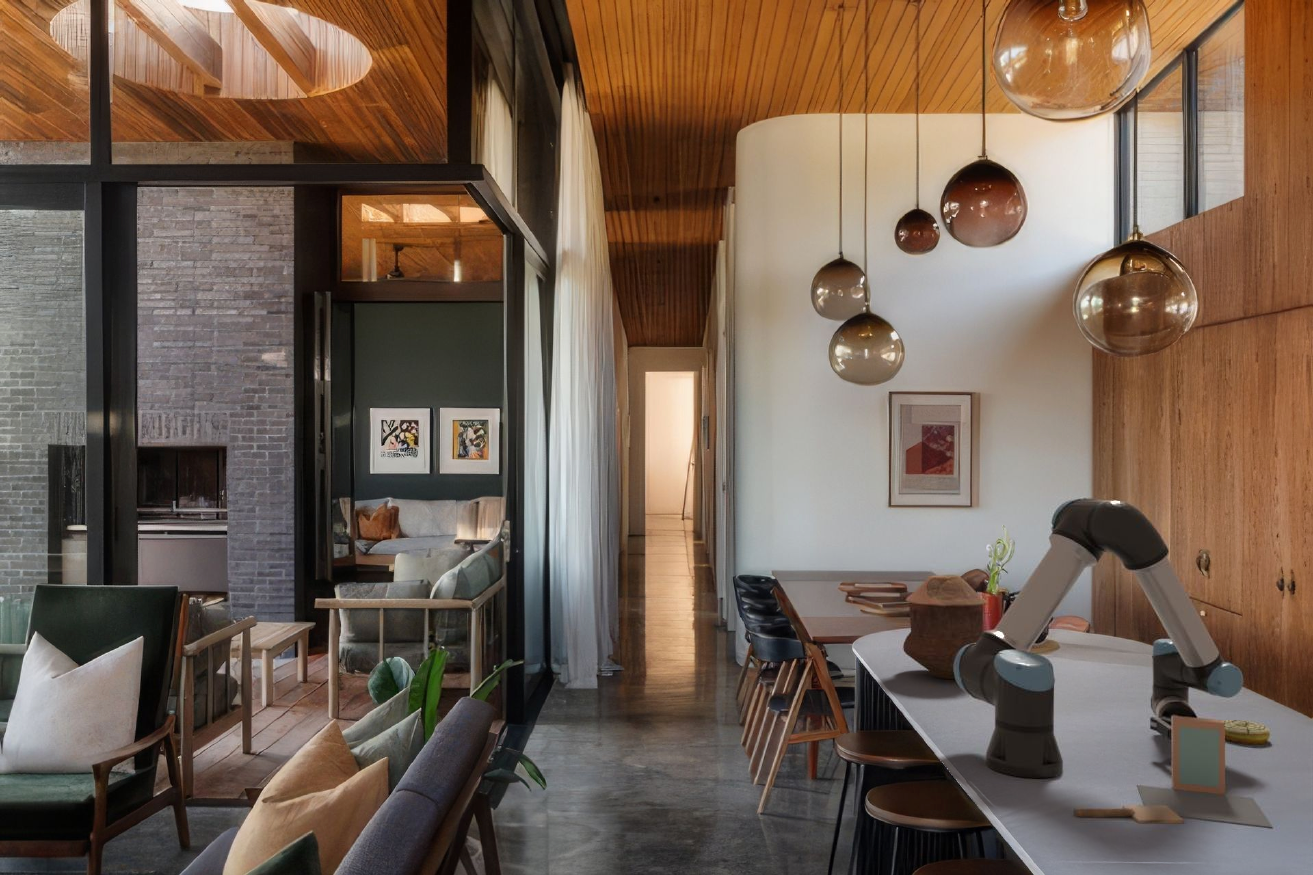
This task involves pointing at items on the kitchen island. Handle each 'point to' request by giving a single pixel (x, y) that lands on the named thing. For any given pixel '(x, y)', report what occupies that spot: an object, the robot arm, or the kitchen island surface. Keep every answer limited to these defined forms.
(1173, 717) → the tile
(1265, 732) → the decorated donut
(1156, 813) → the wooden turner
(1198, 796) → the mat
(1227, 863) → the kitchen island surface
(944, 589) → the pottery vessel
